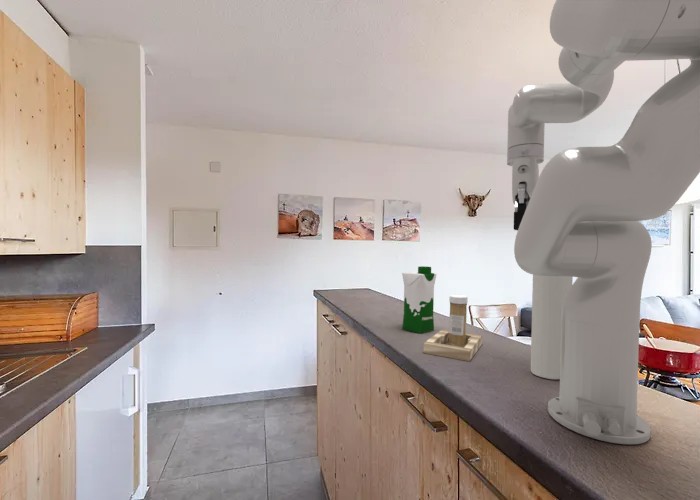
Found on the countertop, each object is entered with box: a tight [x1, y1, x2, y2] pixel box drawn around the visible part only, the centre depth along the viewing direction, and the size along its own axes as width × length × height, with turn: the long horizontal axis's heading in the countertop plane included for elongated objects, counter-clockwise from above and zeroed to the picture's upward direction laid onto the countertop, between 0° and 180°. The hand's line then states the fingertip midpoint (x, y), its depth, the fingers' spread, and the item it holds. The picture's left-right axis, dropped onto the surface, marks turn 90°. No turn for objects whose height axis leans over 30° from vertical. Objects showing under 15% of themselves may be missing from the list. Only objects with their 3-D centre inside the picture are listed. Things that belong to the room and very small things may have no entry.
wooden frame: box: [422, 329, 483, 362], centre depth 88 cm, size 16×11×2 cm
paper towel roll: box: [530, 274, 573, 380], centre depth 70 cm, size 7×6×21 cm
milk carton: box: [401, 265, 437, 334], centre depth 106 cm, size 9×9×20 cm
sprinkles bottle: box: [448, 294, 468, 347], centre depth 90 cm, size 5×5×14 cm
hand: (523, 230), depth 78 cm, fingers open, 9 cm apart
